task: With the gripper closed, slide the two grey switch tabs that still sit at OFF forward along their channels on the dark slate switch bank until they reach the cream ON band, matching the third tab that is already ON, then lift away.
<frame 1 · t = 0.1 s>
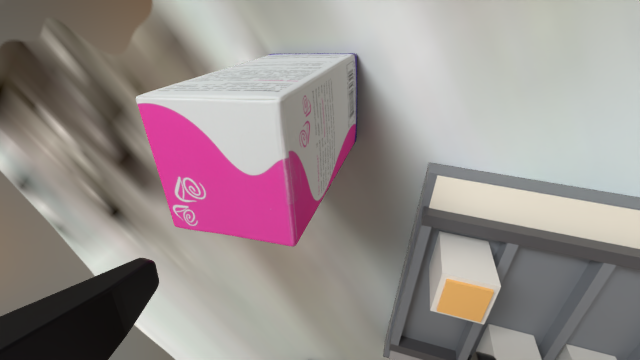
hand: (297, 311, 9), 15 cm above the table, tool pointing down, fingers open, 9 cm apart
switch tab 3: (460, 275, 20), point 4 cm above the table, slide at 7.0 cm
supplement box: (314, 99, 22), on the table
switch bank: (515, 293, 24), on the table
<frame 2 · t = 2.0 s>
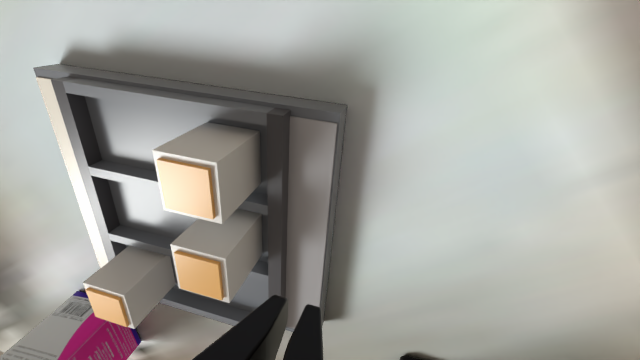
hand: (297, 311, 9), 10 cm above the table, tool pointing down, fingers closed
switch tab 3: (132, 284, 22), point 4 cm above the table, slide at 7.0 cm
switch tab 1: (212, 169, 16), point 4 cm above the table, slide at 0.0 cm
supplement box: (112, 315, 32), on the table
switch tab 2: (220, 250, 18), point 4 cm above the table, slide at 0.0 cm
switch bank: (202, 204, 22), on the table
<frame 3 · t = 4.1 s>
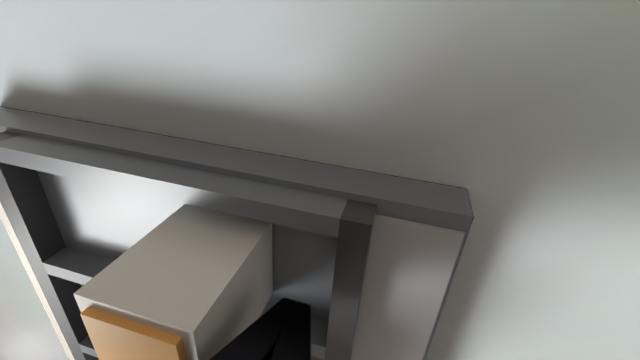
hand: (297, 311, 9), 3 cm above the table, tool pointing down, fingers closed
switch tab 1: (193, 295, 9), point 4 cm above the table, slide at 1.4 cm, touching gripper
switch bank: (214, 302, 15), on the table
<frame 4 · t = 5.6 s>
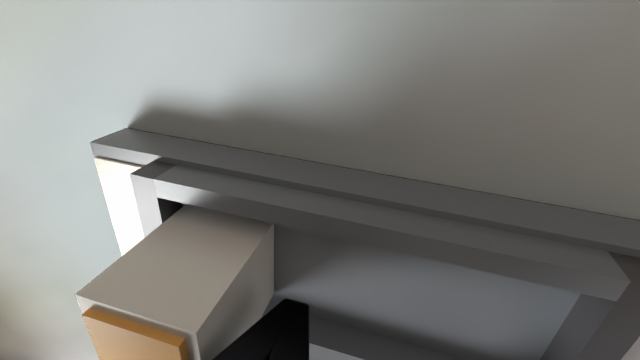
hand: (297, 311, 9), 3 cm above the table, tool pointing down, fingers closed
switch tab 1: (195, 296, 9), point 4 cm above the table, slide at 7.6 cm, touching gripper
switch bank: (344, 340, 14), on the table
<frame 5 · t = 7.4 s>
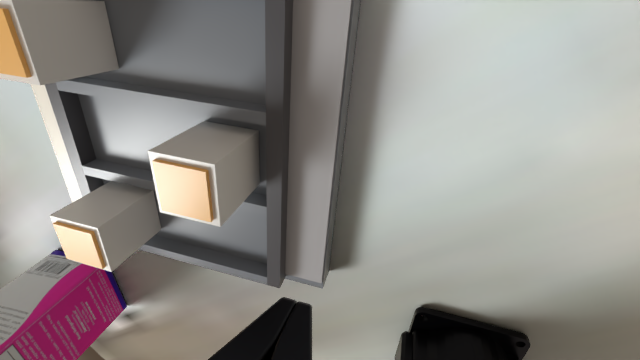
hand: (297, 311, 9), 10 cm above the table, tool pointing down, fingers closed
switch tab 3: (110, 224, 19), point 4 cm above the table, slide at 7.0 cm
switch tab 1: (44, 37, 14), point 4 cm above the table, slide at 7.6 cm
supplement box: (95, 277, 29), on the table
switch tab 2: (210, 170, 15), point 4 cm above the table, slide at 0.0 cm
switch bank: (190, 132, 19), on the table
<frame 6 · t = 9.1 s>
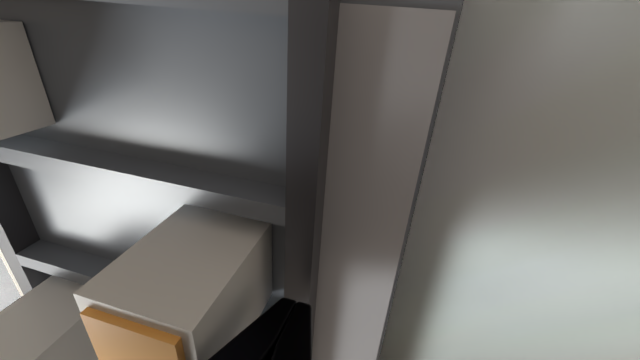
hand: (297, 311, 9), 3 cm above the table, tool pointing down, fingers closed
switch tab 3: (54, 339, 13), point 4 cm above the table, slide at 7.0 cm
switch tab 2: (192, 295, 9), point 4 cm above the table, slide at 0.0 cm, touching gripper
switch bank: (171, 205, 13), on the table
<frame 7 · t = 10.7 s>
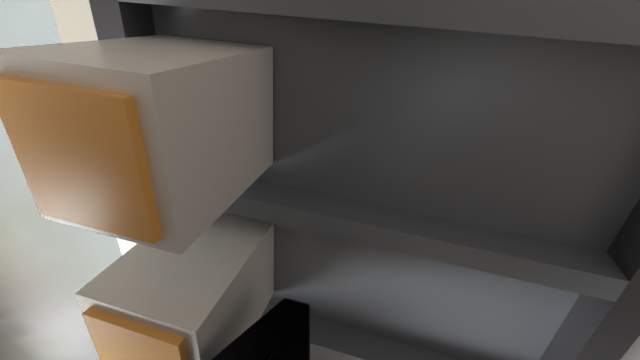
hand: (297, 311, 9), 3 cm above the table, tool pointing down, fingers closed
switch tab 1: (166, 125, 7), point 4 cm above the table, slide at 7.6 cm
switch tab 2: (194, 295, 9), point 4 cm above the table, slide at 7.5 cm, touching gripper
switch bank: (358, 248, 11), on the table
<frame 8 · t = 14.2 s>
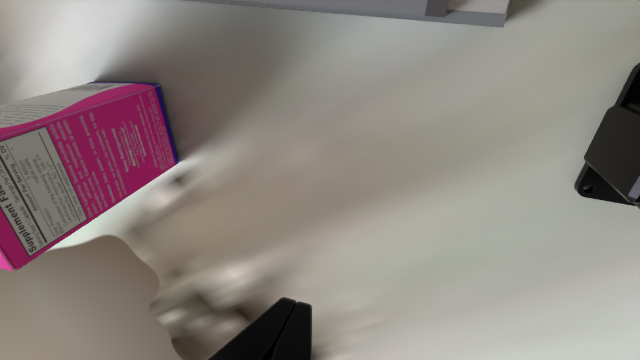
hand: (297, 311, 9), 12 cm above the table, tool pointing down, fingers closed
supplement box: (140, 123, 23), on the table
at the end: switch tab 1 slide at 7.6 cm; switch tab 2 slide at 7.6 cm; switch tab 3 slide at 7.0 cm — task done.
